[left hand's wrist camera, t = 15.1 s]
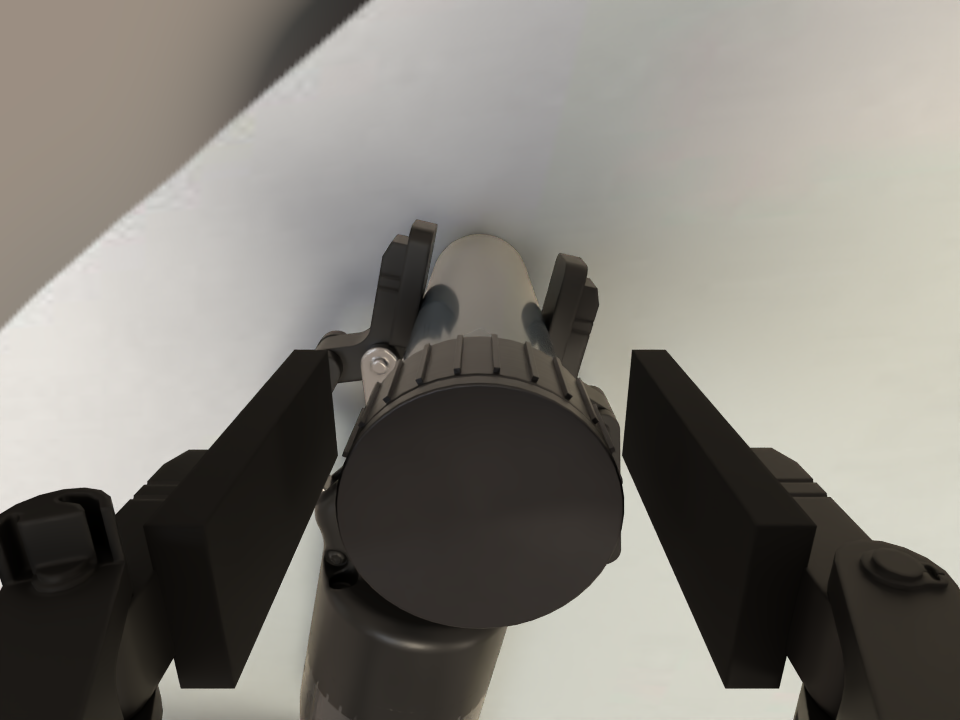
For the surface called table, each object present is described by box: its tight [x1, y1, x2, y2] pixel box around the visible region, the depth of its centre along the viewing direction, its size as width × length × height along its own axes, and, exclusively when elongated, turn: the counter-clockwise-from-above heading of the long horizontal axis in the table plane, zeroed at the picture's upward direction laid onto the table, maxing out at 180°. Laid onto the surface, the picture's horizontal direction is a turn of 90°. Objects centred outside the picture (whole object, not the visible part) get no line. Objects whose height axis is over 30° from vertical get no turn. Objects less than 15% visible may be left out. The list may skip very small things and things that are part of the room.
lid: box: [335, 334, 624, 629], centre depth 11 cm, size 5×5×2 cm
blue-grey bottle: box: [402, 234, 557, 361], centre depth 18 cm, size 4×4×16 cm
